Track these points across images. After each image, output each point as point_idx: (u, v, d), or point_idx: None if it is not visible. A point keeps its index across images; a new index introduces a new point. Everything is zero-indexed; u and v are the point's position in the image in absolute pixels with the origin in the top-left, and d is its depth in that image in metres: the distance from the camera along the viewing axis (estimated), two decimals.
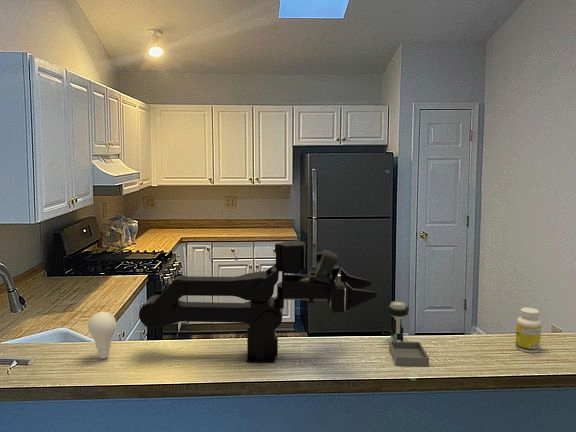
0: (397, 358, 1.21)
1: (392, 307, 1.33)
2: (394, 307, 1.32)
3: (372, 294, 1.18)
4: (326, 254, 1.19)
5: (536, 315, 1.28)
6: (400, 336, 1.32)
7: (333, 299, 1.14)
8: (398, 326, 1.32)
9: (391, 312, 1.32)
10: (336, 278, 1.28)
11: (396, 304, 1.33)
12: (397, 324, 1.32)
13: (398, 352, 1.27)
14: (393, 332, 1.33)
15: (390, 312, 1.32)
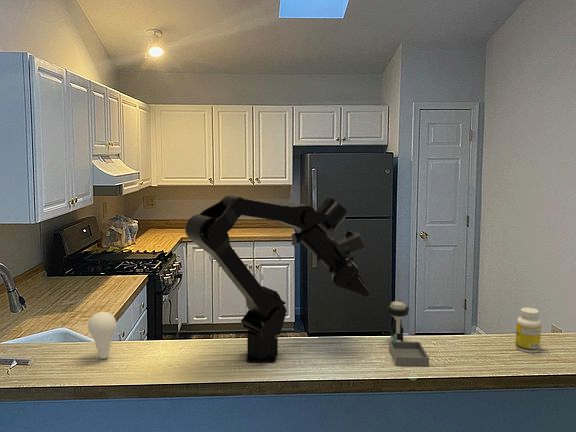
0: (397, 358, 1.21)
1: (392, 307, 1.33)
2: (394, 307, 1.32)
3: (366, 292, 1.27)
4: (360, 236, 1.28)
5: (536, 315, 1.28)
6: (400, 336, 1.32)
7: (342, 271, 1.22)
8: (398, 326, 1.32)
9: (391, 312, 1.32)
10: None
11: (396, 304, 1.33)
12: (397, 324, 1.32)
13: (398, 352, 1.27)
14: (393, 332, 1.33)
15: (390, 312, 1.32)
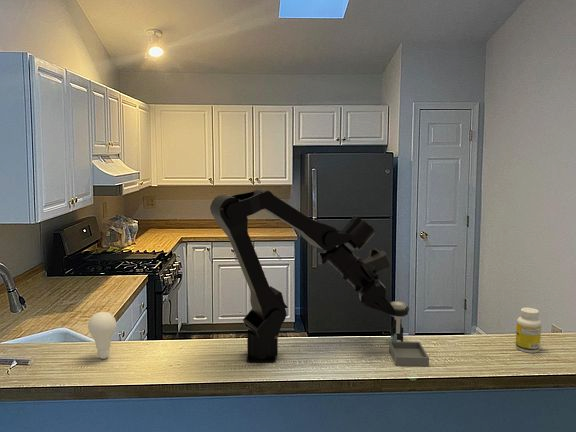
0: (397, 358, 1.21)
1: None
2: (394, 307, 1.32)
3: (393, 311, 1.28)
4: (386, 255, 1.29)
5: (536, 315, 1.28)
6: (400, 336, 1.32)
7: (370, 291, 1.23)
8: (398, 326, 1.32)
9: None
10: None
11: (396, 304, 1.33)
12: (397, 324, 1.32)
13: (398, 352, 1.27)
14: (393, 332, 1.33)
15: None
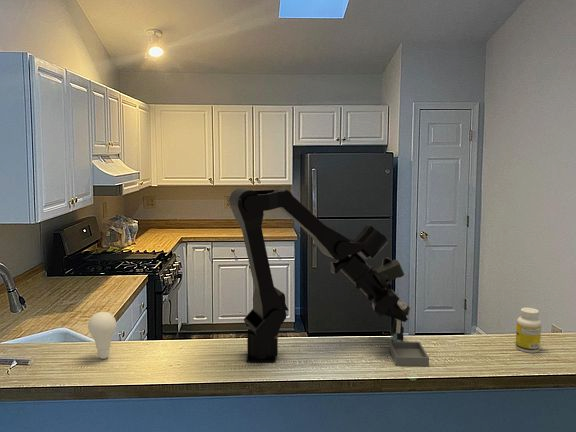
0: (397, 358, 1.21)
1: None
2: None
3: (404, 318, 1.30)
4: (399, 265, 1.29)
5: (536, 315, 1.28)
6: (400, 336, 1.32)
7: (383, 300, 1.23)
8: (398, 326, 1.32)
9: None
10: None
11: None
12: (397, 324, 1.32)
13: (398, 352, 1.27)
14: (393, 332, 1.33)
15: None
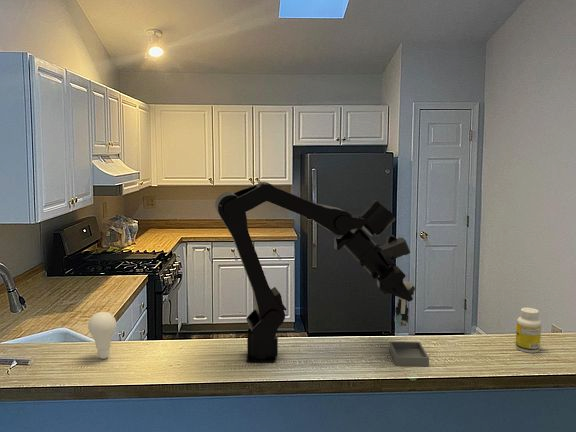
0: (397, 358, 1.21)
1: None
2: None
3: (409, 297, 1.25)
4: (405, 242, 1.25)
5: (536, 315, 1.28)
6: (405, 316, 1.27)
7: (389, 277, 1.18)
8: (403, 306, 1.27)
9: None
10: None
11: None
12: (402, 304, 1.27)
13: (398, 352, 1.27)
14: (398, 312, 1.28)
15: None
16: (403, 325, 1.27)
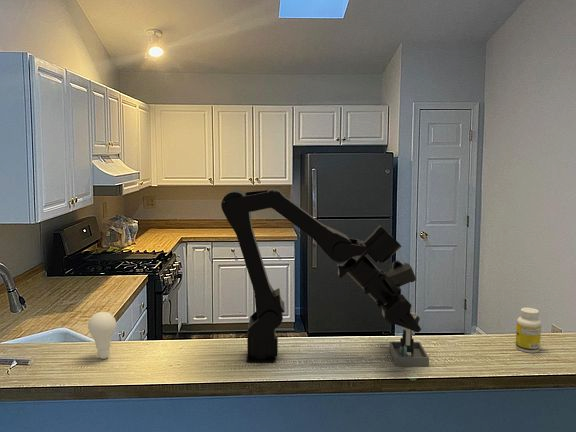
0: (397, 358, 1.21)
1: None
2: None
3: (417, 328, 1.20)
4: (411, 269, 1.20)
5: (536, 315, 1.28)
6: (410, 348, 1.23)
7: (394, 307, 1.14)
8: (408, 337, 1.24)
9: None
10: None
11: None
12: (407, 335, 1.23)
13: (398, 352, 1.27)
14: (403, 344, 1.25)
15: None
16: None
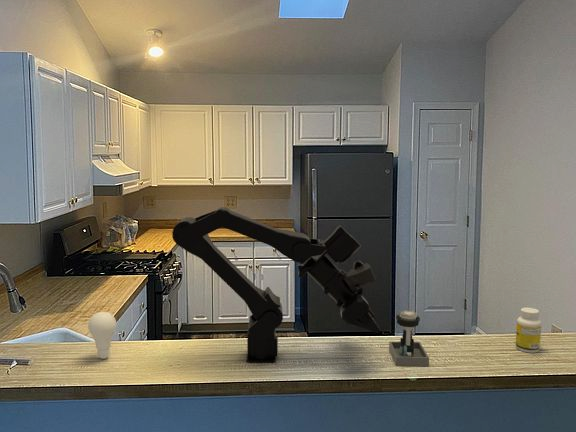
0: (397, 358, 1.21)
1: (402, 317, 1.24)
2: (404, 317, 1.23)
3: (376, 328, 1.19)
4: (370, 269, 1.21)
5: (536, 315, 1.28)
6: (410, 348, 1.23)
7: (351, 307, 1.14)
8: (408, 337, 1.24)
9: (401, 322, 1.23)
10: None
11: (406, 314, 1.24)
12: (407, 335, 1.23)
13: (398, 352, 1.27)
14: (403, 344, 1.25)
15: (400, 322, 1.24)
16: None
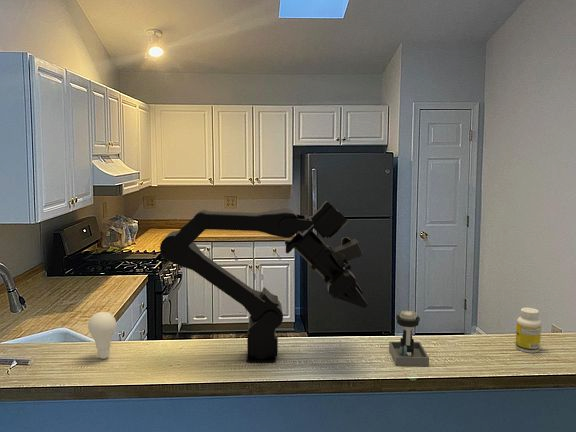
0: (397, 358, 1.21)
1: (402, 317, 1.24)
2: (404, 317, 1.23)
3: (364, 304, 1.19)
4: (357, 244, 1.20)
5: (536, 315, 1.28)
6: (410, 348, 1.23)
7: (338, 281, 1.14)
8: (408, 337, 1.24)
9: (401, 322, 1.23)
10: None
11: (406, 314, 1.24)
12: (407, 335, 1.23)
13: (398, 352, 1.27)
14: (403, 344, 1.25)
15: (400, 322, 1.24)
16: None
